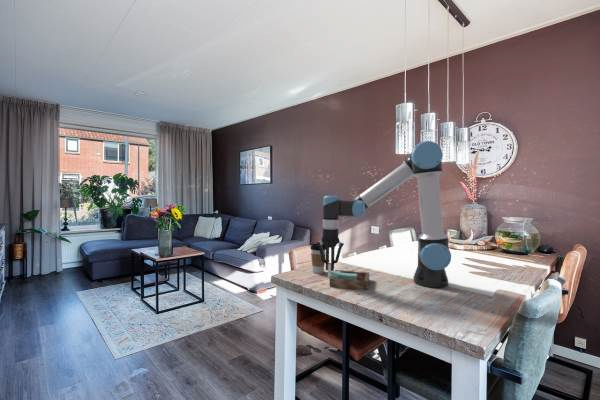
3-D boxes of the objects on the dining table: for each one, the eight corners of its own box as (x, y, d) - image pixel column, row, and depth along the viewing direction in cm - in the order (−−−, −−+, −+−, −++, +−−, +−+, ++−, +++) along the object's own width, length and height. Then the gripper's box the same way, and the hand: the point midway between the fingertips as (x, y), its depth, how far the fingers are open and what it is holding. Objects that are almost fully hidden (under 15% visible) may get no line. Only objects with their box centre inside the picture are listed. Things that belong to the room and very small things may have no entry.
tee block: (357, 280, 147) (357, 272, 147) (355, 286, 137) (355, 278, 137) (332, 278, 150) (333, 270, 150) (329, 284, 141) (329, 275, 141)
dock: (369, 279, 149) (369, 272, 148) (367, 290, 133) (367, 282, 133) (335, 276, 153) (335, 269, 153) (329, 286, 138) (329, 278, 137)
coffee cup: (325, 274, 156) (325, 245, 156) (308, 273, 158) (309, 245, 158) (326, 270, 165) (327, 242, 164) (311, 269, 166) (311, 242, 166)
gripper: (345, 227, 147) (344, 276, 147) (318, 226, 150) (318, 273, 151) (343, 229, 139) (342, 280, 140) (315, 228, 143) (314, 278, 144)
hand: (329, 277), depth 146 cm, fingers closed
